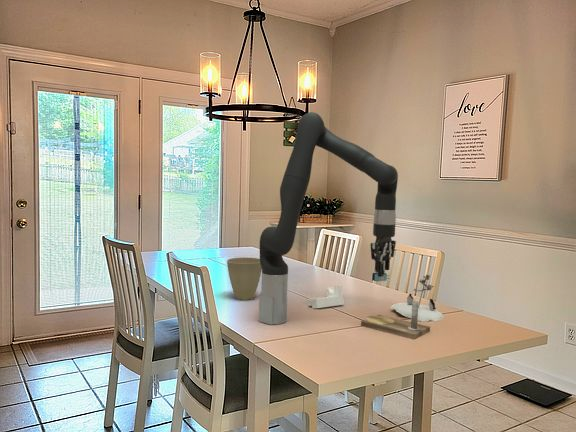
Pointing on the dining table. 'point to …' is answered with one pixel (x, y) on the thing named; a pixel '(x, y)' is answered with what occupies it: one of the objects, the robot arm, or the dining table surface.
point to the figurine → (419, 306)
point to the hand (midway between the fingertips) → (382, 270)
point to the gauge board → (397, 324)
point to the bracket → (328, 298)
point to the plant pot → (244, 276)
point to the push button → (381, 275)
